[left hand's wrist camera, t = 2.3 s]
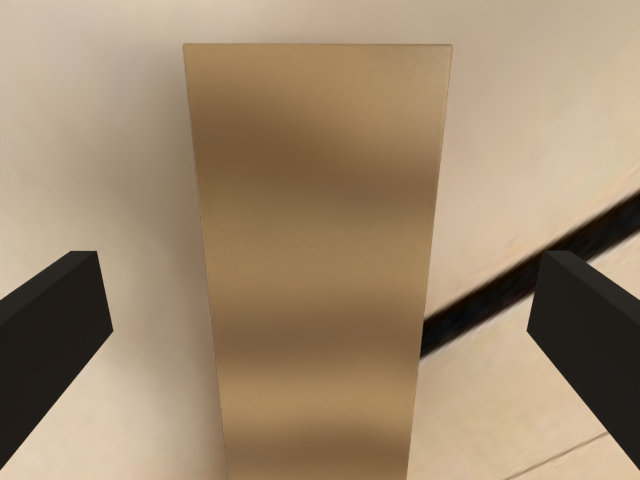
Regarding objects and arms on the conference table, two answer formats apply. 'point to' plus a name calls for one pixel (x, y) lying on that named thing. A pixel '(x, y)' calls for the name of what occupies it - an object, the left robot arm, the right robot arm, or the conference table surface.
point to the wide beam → (317, 246)
